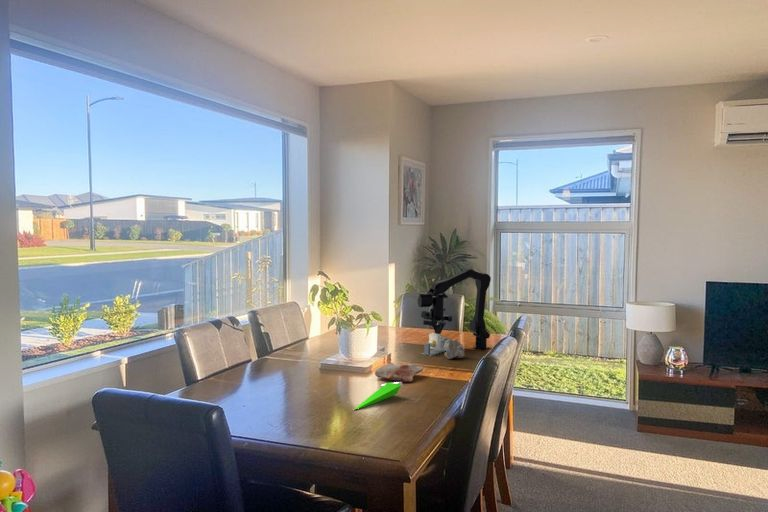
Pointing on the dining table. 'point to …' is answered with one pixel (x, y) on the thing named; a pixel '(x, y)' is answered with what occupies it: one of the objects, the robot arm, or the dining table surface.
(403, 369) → the stone
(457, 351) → the rock
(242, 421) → the dining table surface
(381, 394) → the green wedge
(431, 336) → the sleeve
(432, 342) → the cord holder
